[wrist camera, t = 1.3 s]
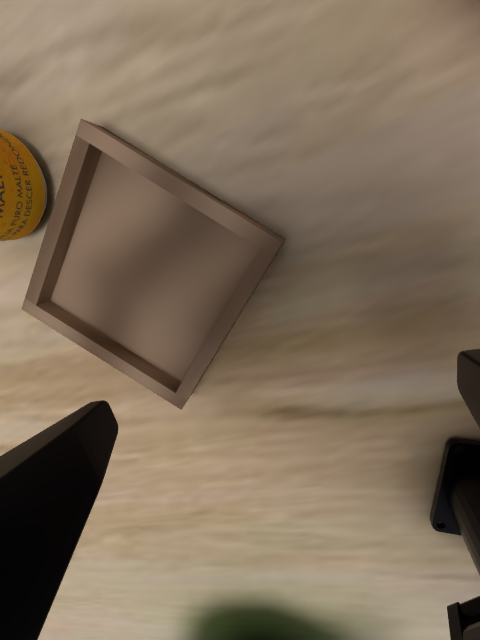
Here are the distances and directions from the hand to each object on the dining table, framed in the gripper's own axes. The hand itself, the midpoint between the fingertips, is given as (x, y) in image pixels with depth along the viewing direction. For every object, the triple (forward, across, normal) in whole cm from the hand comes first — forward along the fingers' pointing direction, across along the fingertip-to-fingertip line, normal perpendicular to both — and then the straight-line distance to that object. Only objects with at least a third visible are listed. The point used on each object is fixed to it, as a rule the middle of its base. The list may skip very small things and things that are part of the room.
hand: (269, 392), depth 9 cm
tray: (+12, +7, -1) cm, 14 cm away
